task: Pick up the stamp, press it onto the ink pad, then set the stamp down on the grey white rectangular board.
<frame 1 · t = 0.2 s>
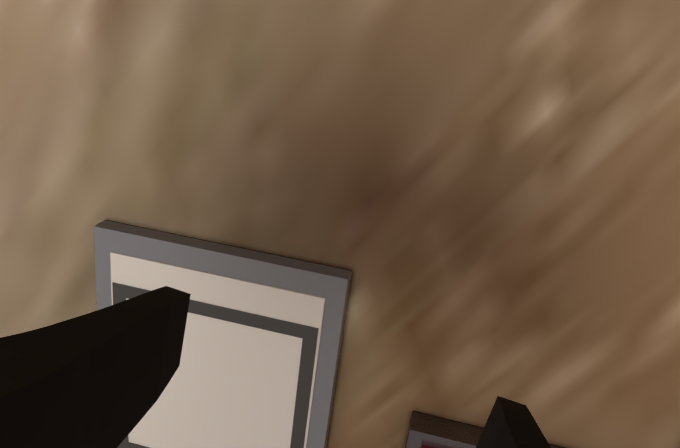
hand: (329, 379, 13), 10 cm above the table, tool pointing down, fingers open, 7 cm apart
grey white rectangular board: (216, 382, 26), on the table
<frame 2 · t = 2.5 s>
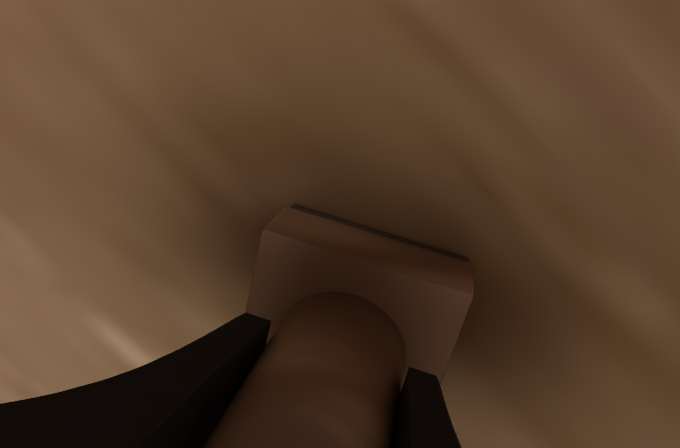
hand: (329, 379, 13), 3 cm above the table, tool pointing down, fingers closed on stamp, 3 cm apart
stamp: (357, 307, 16), on the table, touching gripper
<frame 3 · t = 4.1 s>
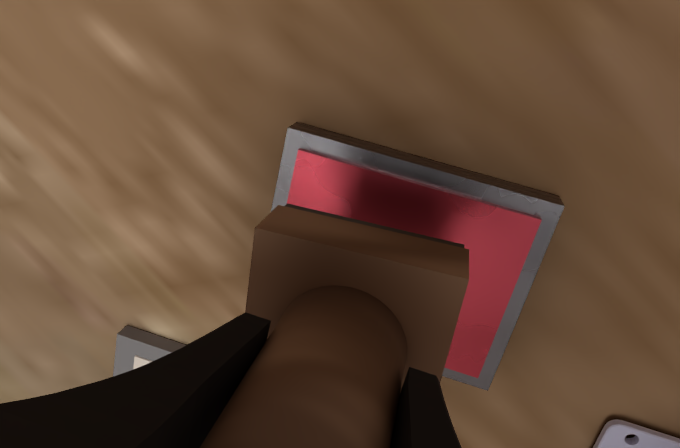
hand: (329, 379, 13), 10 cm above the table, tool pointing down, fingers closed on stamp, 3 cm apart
ink pad: (396, 252, 22), on the table
stamp: (358, 302, 16), point 7 cm above the table, touching gripper
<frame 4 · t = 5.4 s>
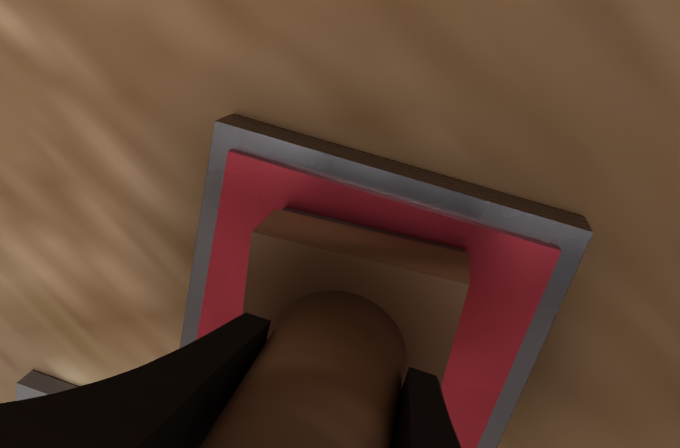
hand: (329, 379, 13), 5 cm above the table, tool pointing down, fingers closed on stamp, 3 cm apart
ink pad: (365, 288, 17), on the table
stamp: (356, 307, 16), point 1 cm above the table, touching gripper, ink pad
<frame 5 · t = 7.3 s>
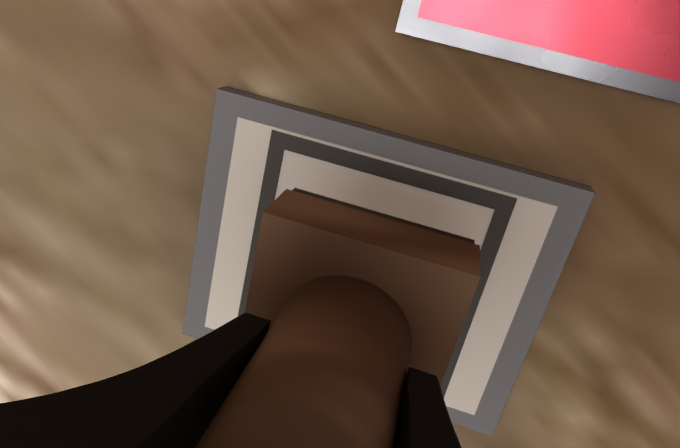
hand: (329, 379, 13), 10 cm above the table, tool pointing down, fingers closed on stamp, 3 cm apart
grey white rectangular board: (365, 264, 23), on the table
stamp: (361, 292, 16), point 7 cm above the table, touching gripper
when the fingers open (5 cm above the table, at t = 8.8 s): stamp drops 1 cm, resting on grey white rectangular board.
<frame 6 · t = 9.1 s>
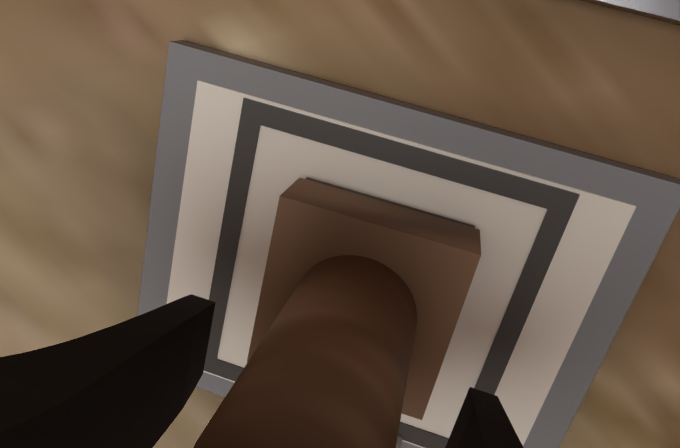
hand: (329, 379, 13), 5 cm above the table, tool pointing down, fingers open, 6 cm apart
grey white rectangular board: (368, 279, 18), on the table
stamp: (368, 276, 17), point 1 cm above the table, touching grey white rectangular board
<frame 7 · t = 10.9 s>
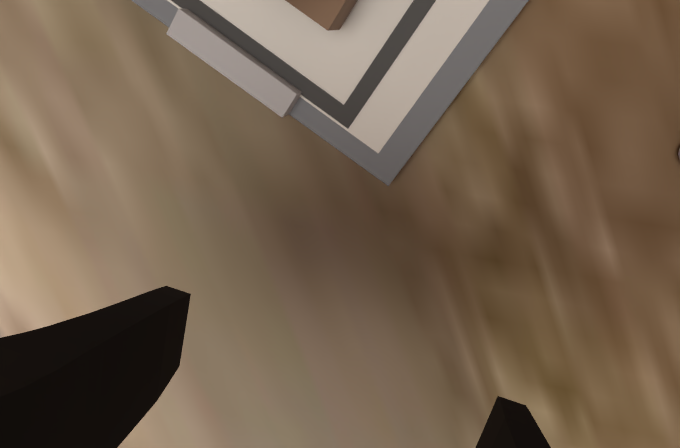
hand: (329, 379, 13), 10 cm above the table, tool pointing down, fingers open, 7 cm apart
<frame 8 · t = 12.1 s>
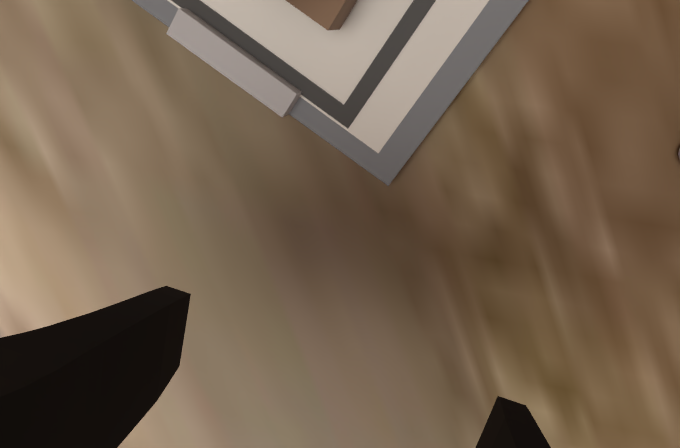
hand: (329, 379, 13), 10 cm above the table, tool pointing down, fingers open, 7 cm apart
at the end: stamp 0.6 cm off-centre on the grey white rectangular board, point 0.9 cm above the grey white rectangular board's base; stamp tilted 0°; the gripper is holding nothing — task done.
